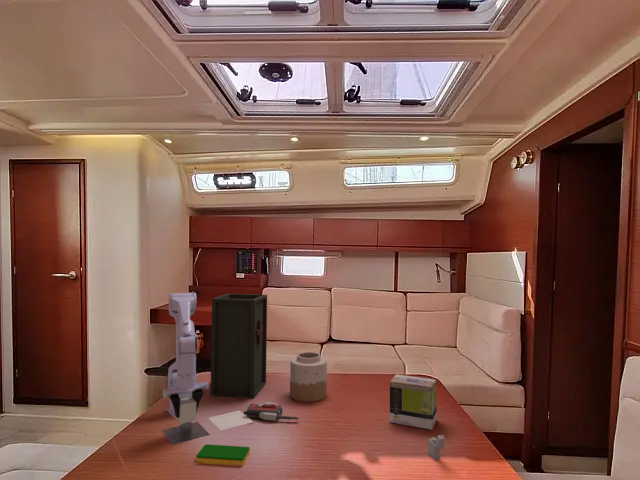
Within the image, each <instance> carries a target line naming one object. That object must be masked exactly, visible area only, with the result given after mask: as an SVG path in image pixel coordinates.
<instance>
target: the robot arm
mask: <svg viewBox="0 0 640 480" xmlns="http://www.w3.org/2000/svg"><path fill="white" fill-rule="evenodd" d="M197 301H198V300H197V293H196V292H178V293H177V292H176V293H175V292H174V293H172V292H170V293H169V294H168V313H169V316H170V317H173V318H174V320H175V321H174V323H175V362H173V363H172V364H171V365H170V366H169V367H168V369H167V370H168V373H167V388H166V389H162V397H163V398H166V399H167V398H168V397H169V401H168V402H169V404H168V407H169V408H166V411H167V413H169V414H170V415H171V417H172V418H175V419H176V417H177V418H179V414H180V413H179V406H180V399H185V398H190V397H192V398H193V399H194V400H195V401H196V414H197V412H198V408H199V406H200V405H199V404H200V402H201V400H202V399H203V397H204V393H205V391H203V390H209V389H210V387H209V386H210V383H209V382H208V381H202V382H197V370H196V369H197V354H198V350H199V341H198V339H199V338H198V335H197V333H196V331H195V323H194V321H193V320H191V316H193V315H194V314H195V311H196V308H197Z"/></svg>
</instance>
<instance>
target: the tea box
mask: <svg viewBox="0 0 640 480" xmlns="http://www.w3.org/2000/svg"><path fill="white" fill-rule="evenodd" d="M437 407H438V406H437V379H435V378H429V377H428V378H427V377H421V376H412V375H404V374H395V375H394V376H393V378H392V379H391V380H390V381H389V422H390V423H393V424H399V425H404V426H409V427H416V428H419V429H420V428H421V429H426V430H432V431H433V430H434V429H433V428H434V426H435V424H436V421H437V419H438V418H437V414H438V413H437V411H438V410H437V409H438V408H437Z"/></svg>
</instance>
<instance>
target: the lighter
mask: <svg viewBox="0 0 640 480" xmlns="http://www.w3.org/2000/svg"><path fill="white" fill-rule="evenodd" d="M445 441H446V438H445V436H444V435H443V434H440V435H439V434H438V435H437V437H434V436H432V437H430V438H428V455H430V457H431V458H432V459H433V460H434V461H440V459H441V450H442V449H443V447H444V445H445Z"/></svg>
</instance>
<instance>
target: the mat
mask: <svg viewBox="0 0 640 480" xmlns="http://www.w3.org/2000/svg"><path fill="white" fill-rule="evenodd" d="M208 420H209V421H210V422H211V423H212V424H213V425H214V426H215V427H216V428H217V429H218V430H219V431H221V432H222V431H224V430H229V429H231V428H237V427H240V426H244V425H252V424H254V423H255V422H254V421H253V420H252V419H251V418H250V417H248V416H247V415H245V414H244V412H242V411H241V410H236V411H231V412H227V413H224V414H220V415H219V414H218V415H214V416H210V417H208Z"/></svg>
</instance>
